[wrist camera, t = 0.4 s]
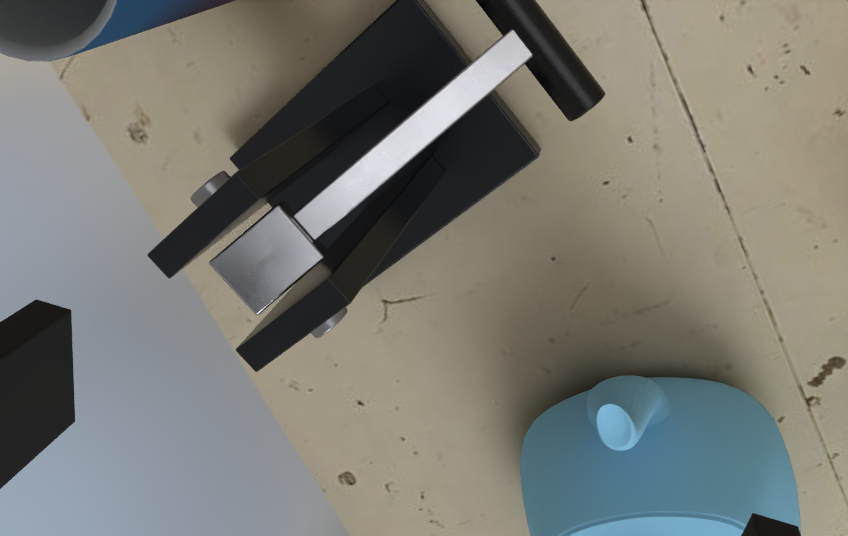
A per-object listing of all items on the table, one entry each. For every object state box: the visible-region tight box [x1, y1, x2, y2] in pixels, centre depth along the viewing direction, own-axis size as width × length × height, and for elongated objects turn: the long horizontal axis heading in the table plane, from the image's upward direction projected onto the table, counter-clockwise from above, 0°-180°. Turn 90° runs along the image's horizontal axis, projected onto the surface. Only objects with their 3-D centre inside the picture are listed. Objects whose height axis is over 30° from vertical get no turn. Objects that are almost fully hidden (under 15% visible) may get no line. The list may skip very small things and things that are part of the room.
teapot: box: [520, 375, 801, 536], centre depth 34 cm, size 13×11×18 cm
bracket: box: [148, 0, 541, 372], centre depth 29 cm, size 12×9×15 cm
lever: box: [210, 0, 605, 315], centre depth 24 cm, size 13×6×2 cm, turn 131°
